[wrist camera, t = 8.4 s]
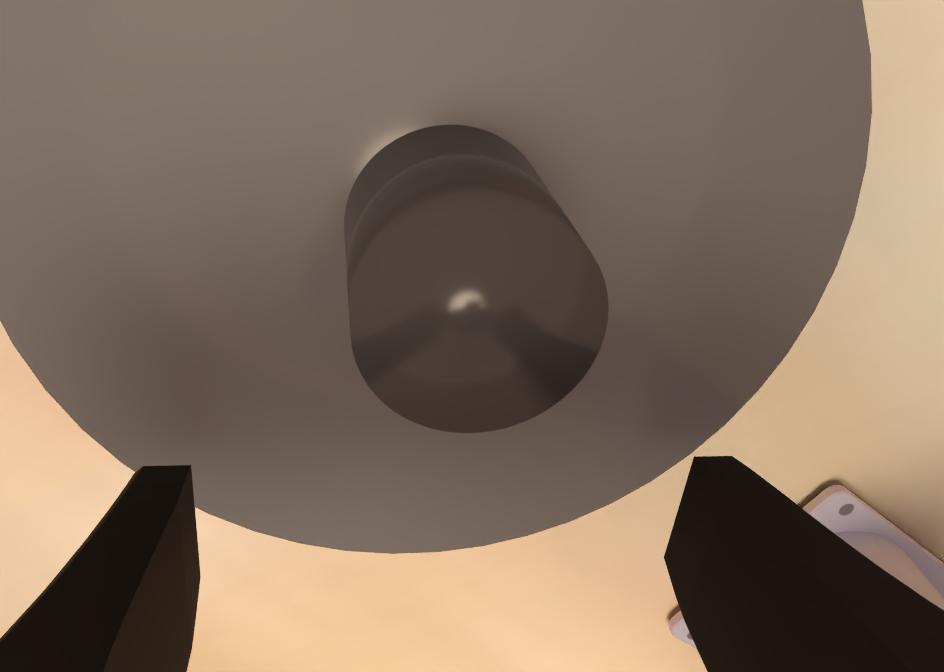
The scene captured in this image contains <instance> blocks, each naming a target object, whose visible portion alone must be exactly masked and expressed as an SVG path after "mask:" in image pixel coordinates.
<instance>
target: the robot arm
mask: <svg viewBox="0 0 944 672" xmlns="http://www.w3.org/2000/svg"><path fill="white" fill-rule="evenodd" d="M664 559H665V562H666V566H667V569H668V572H669V576H670V579H671V582H672V585H673V589H674V592H675V595H676V598H677V601H678V604H679V607H680V611H679V612H678V613H677V614H675V615H674V616H673V617H672V618H671V619H670V621H669V624H668V625H669V628H670V631H671V633H672V635H673V636H674V637H676V638H678V639H680V640H682V641H684V642H685V643H687V644H689V645H691V646H693V647H695V648H697V650H698V652H699V654H700V656H701V658H702V660H703V663H704V665H705V667H706V669H707V671H708V672H944V563H943V562H942V561H940V560H939V559H938V558H937V557H935V556H934V555H933V554H931V553H930V552H929V551H927V550H926V549H925V548H923V547H922V546H921V545H920V544H918V543H917V542H916V541H914V540H913V539H912V538H910V537H909V536H908V535H907V534H905V533H904V532H903V531H901V530H900V529H899V528H897V527H896V526H895V525H894V524H892V523H891V522H890V521H888V520H887V519H886V518H884V517H883V516H882V515H881V514H879V513H878V512H877V511H875V510H874V509H873V508H871V507H870V506H869V505H867V504H866V503H865V502H864V501H862V500H861V499H860V498H858V497H857V496H856V495H854V494H853V493H852V492H851V491H849V490H848V489H847V488H845V487H844V486H841V485H833V486H830V487H828V488H826V489H825V490H824V491H822V492H821V493H820V494H819V495H818V496H816V497H815V498H814V499H813V500H812V501H810V502H809V503H808V504H807V505H806V506H804V507H803V508H801V507H799V506H798V505H797V504H796V503H794V502H793V501H792V500H790V499H789V498H788V497H787V496H785V495H784V494H783V493H781V492H780V491H779V490H777V489H776V488H775V487H774V486H772V485H771V484H770V483H768V482H767V481H766V480H764V479H763V478H762V477H760V476H759V475H758V474H756V473H755V472H754V471H752V470H751V469H750V468H748V467H747V466H745V465H744V464H743V463H741V462H740V461H738V460H737V459H735V458H734V457H732V456H712V457H694V459H693V462H692V465H691V469H690V472H689V475H688V479H687V482H686V486H685V489H684V492H683V496H682V499H681V502H680V506H679V509H678V512H677V516H676V519H675V522H674V526H673V529H672V532H671V536H670V539H669V542H668V546H667V549H666V552H665V556H664ZM199 584H200V566H199V554H198V542H197V530H196V518H195V506H194V494H193V481H192V469H191V465H168V466H142V467H141V468H140V469H139V470H138V471H137V472H135V473H134V475H133V476H132V478H131V479H130V481H129V482H128V484H127V485H126V487H125V488H124V489H123V491H122V492H121V494H120V495H119V496H118V498H117V499H116V501H115V502H114V503H113V505H112V506H111V507H110V509H109V510H108V512H107V513H106V514H105V516H104V517H103V518H102V520H101V521H100V522H99V523H98V525H97V526H96V527H95V529H94V530H93V531H92V533H91V534H90V535H89V536H88V538H87V539H86V540H85V542H84V543H83V544H82V545H81V546H80V548H79V549H78V550H77V551H76V553H75V554H74V555H73V556H72V557H71V559H70V560H69V561H68V562H67V564H66V565H65V566H64V567H63V568H62V570H61V571H60V572H59V573H58V575H57V576H56V577H55V578H54V579H53V581H52V582H51V583H50V584H49V585H48V586H47V588H46V589H45V590H44V591H43V592H42V593H41V595H40V596H39V597H38V598H37V599H36V600H35V601H34V602H33V603H32V604H31V606H30V607H29V608H28V609H27V610H26V611H25V612H24V613H23V614H22V615H21V617H20V618H19V619H18V620H17V621H16V622H15V623H14V624H13V625H12V626H11V627H10V629H9V630H8V631H7V632H6V633H5V634H4V635H3V636H2V637H1V638H0V672H186V671H187V667H188V663H189V658H190V654H191V649H192V643H193V635H194V627H195V619H196V610H197V602H198V593H199Z"/></svg>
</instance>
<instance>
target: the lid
mask: <svg viewBox="0 0 944 672" xmlns="http://www.w3.org/2000/svg"><path fill="white" fill-rule="evenodd" d="M871 114H872V99H871V54H870V48H869V41H868V35H867V28H866V22H865V15H864V9H863V2H862V0H0V321H1V323H2V325H3V326H4V328H5V330H6V332H7V334H8V336H9V338H10V340H11V341H12V343H13V345H14V346H15V348H16V349H17V351H18V352H19V353H20V355H21V356H22V358H23V359H24V360H25V362H26V363H27V365H28V366H29V367H30V369H31V370H32V371H33V373H34V374H35V376H36V377H37V378H38V380H39V381H40V383H41V384H42V385H43V387H44V388H45V390H46V391H47V392H48V393H49V394H50V395H51V396H52V397H53V398H54V399H55V400H56V402H57V403H58V404H59V405H60V406H61V407H62V408H63V409H64V410H65V411H66V412H67V413H68V414H69V416H70V417H71V418H72V419H73V420H74V421H75V422H76V423H77V424H78V425H79V426H80V427H81V428H82V430H84V431H85V432H86V433H87V434H88V435H90V436H91V437H92V438H93V439H94V440H95V441H97V442H98V443H99V444H100V445H101V446H103V447H104V448H105V449H106V450H107V451H109V452H110V453H111V454H112V455H113V456H114V457H116V458H117V459H118V460H119V461H120V462H122V463H123V464H124V465H126V466H127V467H129V468H130V469H132V470H133V471H135V472H137V471H138V470H139V469H140V468H141V467H142V466H168V465H191V469H192V481H193V494H194V506H195V507H196V508H198V509H200V510H202V511H204V512H206V513H208V514H211V515H213V516H216V517H218V518H221V519H224V520H226V521H229V522H232V523H234V524H237V525H239V526H242V527H245V528H247V529H250V530H252V531H256V532H259V533H263V534H267V535H271V536H274V537H278V538H282V539H286V540H289V541H293V542H297V543H301V544H307V545H313V546H320V547H326V548H332V549H338V550H344V551H358V552H375V553H391V554H394V553H421V552H441V551H448V550H456V549H463V548H471V547H478V546H485V545H489V544H493V543H498V542H502V541H506V540H511V539H515V538H519V537H524V536H528V535H531V534H534V533H537V532H540V531H543V530H546V529H549V528H552V527H555V526H558V525H561V524H564V523H567V522H570V521H572V520H575V519H577V518H579V517H581V516H584V515H586V514H588V513H590V512H593V511H595V510H597V509H600V508H602V507H604V506H606V505H609V504H611V503H613V502H615V501H616V500H618V499H620V498H622V497H624V496H625V495H627V494H629V493H631V492H633V491H634V490H636V489H638V488H640V487H641V486H643V485H645V484H647V483H649V482H650V481H652V480H654V479H655V478H656V477H658V476H659V475H661V474H662V473H664V472H665V471H667V470H668V469H669V468H671V467H672V466H674V465H675V464H677V463H678V462H680V461H681V460H683V459H684V458H685V457H687V456H688V455H690V454H691V453H692V452H693V451H694V450H696V449H697V448H698V447H699V446H700V445H702V444H703V443H704V442H705V441H706V440H707V439H709V438H710V437H711V436H712V435H713V434H715V433H716V432H717V431H718V430H719V429H720V428H722V427H723V426H724V425H725V424H726V423H727V422H728V421H729V420H730V419H731V418H732V417H733V416H734V415H735V414H736V413H737V412H738V411H739V410H740V409H741V408H742V407H743V406H744V405H745V404H746V403H747V402H748V400H749V399H750V398H751V397H752V396H753V395H754V394H755V393H756V392H757V391H758V390H759V389H760V388H761V386H762V385H763V384H764V382H765V381H766V380H767V379H768V377H769V376H770V375H771V374H772V372H773V371H774V370H775V369H776V367H777V366H778V365H779V364H780V362H781V361H782V360H783V358H784V357H785V356H786V355H787V353H788V352H789V350H790V349H791V347H792V346H793V344H794V342H795V341H796V339H797V338H798V336H799V335H800V333H801V331H802V330H803V328H804V327H805V325H806V324H807V322H808V320H809V319H810V317H811V316H812V314H813V313H814V311H815V309H816V307H817V305H818V303H819V301H820V299H821V297H822V295H823V292H824V290H825V288H826V286H827V284H828V282H829V280H830V278H831V276H832V274H833V272H834V270H835V268H836V266H837V263H838V260H839V258H840V255H841V252H842V249H843V247H844V244H845V241H846V238H847V235H848V233H849V230H850V227H851V224H852V221H853V219H854V215H855V211H856V206H857V202H858V198H859V193H860V189H861V185H862V181H863V176H864V172H865V168H866V160H867V151H868V142H869V132H870V123H871Z"/></svg>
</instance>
